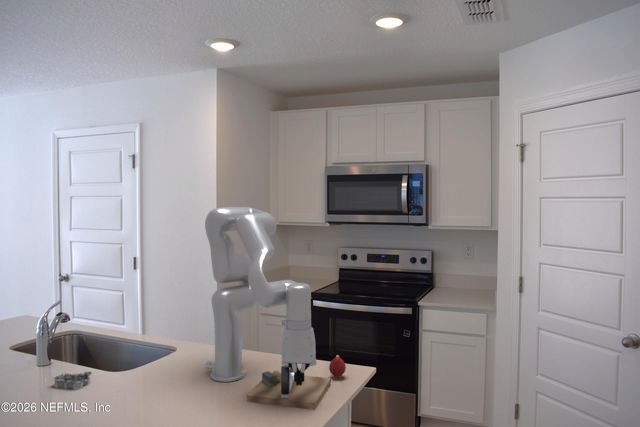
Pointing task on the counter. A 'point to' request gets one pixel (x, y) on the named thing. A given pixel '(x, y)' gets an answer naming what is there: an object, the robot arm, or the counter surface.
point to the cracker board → (299, 396)
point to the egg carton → (72, 380)
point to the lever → (286, 381)
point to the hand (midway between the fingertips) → (299, 383)
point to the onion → (337, 367)
